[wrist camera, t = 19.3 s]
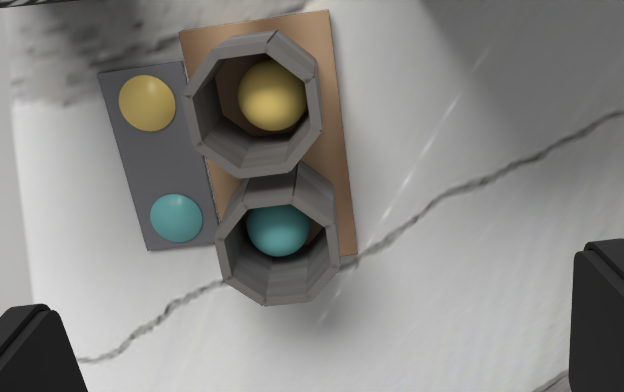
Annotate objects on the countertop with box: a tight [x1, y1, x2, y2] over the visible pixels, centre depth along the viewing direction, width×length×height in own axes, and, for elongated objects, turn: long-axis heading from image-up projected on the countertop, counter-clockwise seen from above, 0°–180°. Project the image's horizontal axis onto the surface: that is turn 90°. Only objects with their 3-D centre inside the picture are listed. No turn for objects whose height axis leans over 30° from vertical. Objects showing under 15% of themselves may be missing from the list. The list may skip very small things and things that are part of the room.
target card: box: [97, 61, 219, 251], centre depth 40 cm, size 6×14×1 cm, turn 8°
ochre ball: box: [238, 60, 307, 131], centre depth 35 cm, size 4×4×4 cm
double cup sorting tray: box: [179, 10, 358, 306], centre depth 36 cm, size 10×18×8 cm, turn 8°
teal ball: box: [247, 204, 310, 256], centre depth 39 cm, size 4×4×4 cm
